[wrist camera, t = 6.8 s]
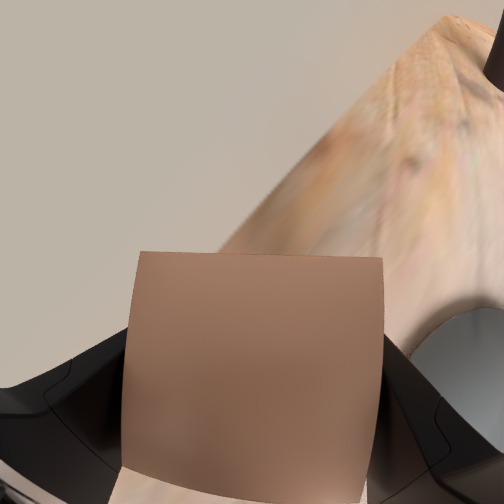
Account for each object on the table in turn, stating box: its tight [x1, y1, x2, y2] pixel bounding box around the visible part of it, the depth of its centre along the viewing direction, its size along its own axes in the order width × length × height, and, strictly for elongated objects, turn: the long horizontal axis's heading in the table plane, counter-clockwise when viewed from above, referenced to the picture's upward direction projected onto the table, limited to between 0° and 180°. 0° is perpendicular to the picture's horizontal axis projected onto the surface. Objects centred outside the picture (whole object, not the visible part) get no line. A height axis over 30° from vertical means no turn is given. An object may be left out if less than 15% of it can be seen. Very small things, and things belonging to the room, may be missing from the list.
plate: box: [408, 308, 504, 453], centre depth 14 cm, size 17×17×1 cm
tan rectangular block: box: [121, 251, 384, 504], centre depth 10 cm, size 6×6×9 cm
